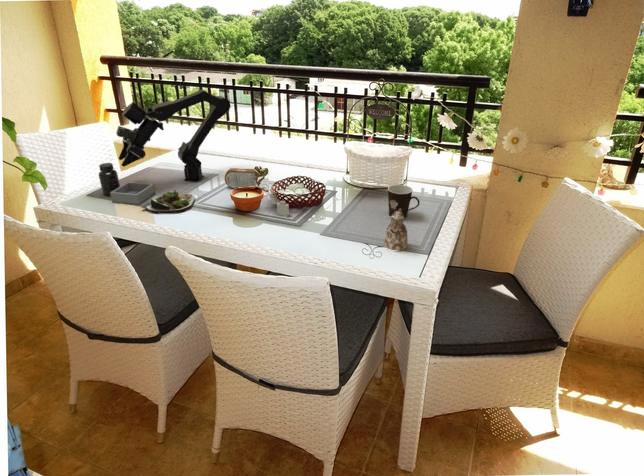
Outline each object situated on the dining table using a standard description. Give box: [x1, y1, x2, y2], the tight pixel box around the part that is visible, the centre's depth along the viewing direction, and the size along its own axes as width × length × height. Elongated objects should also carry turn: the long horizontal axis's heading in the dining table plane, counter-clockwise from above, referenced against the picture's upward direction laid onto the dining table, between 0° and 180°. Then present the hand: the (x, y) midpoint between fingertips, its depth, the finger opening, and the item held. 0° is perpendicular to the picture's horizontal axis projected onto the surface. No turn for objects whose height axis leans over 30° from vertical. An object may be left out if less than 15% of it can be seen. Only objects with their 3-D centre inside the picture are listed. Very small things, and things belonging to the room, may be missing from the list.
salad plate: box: [141, 189, 195, 215], centre depth 172 cm, size 19×18×5 cm
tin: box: [224, 167, 263, 190], centre depth 184 cm, size 15×3×8 cm, turn 84°
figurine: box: [383, 209, 409, 251], centre depth 140 cm, size 7×7×12 cm
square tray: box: [110, 181, 156, 206], centre depth 177 cm, size 12×12×4 cm
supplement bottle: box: [98, 162, 121, 197], centre depth 179 cm, size 7×7×12 cm
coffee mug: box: [387, 184, 421, 219], centre depth 159 cm, size 12×9×10 cm
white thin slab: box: [268, 191, 290, 217], centre depth 162 cm, size 7×2×8 cm, turn 63°
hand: (121, 162), depth 179 cm, fingers open, 9 cm apart
